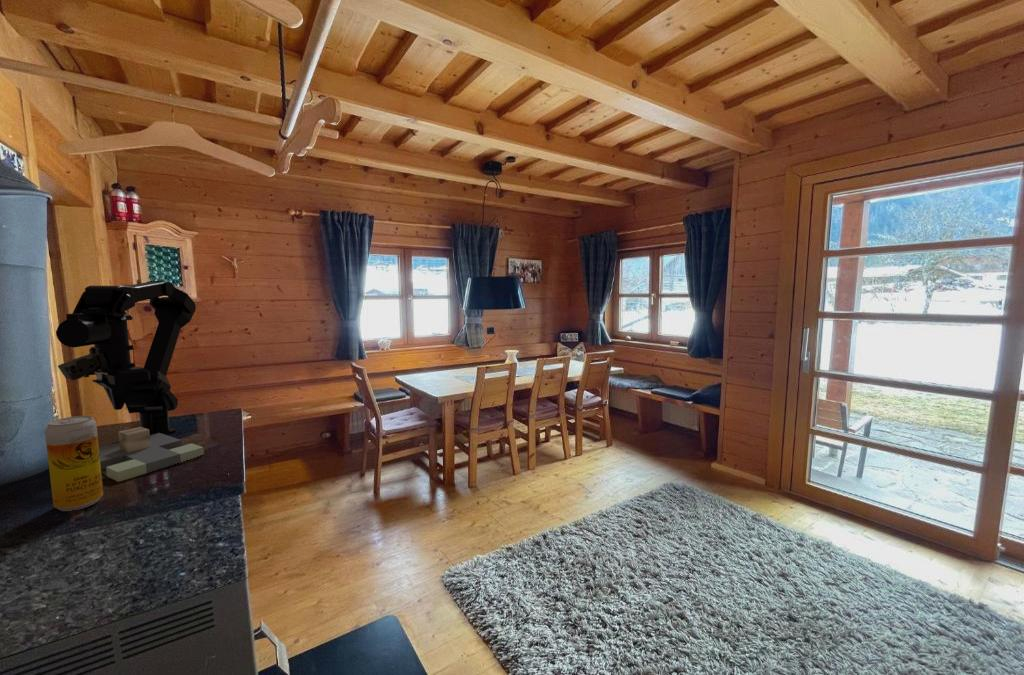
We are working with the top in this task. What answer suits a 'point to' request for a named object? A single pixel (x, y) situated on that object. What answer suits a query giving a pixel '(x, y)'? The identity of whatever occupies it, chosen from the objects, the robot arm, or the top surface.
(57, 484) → the beer can
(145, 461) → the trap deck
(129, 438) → the block
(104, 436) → the top surface
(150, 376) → the robot arm
